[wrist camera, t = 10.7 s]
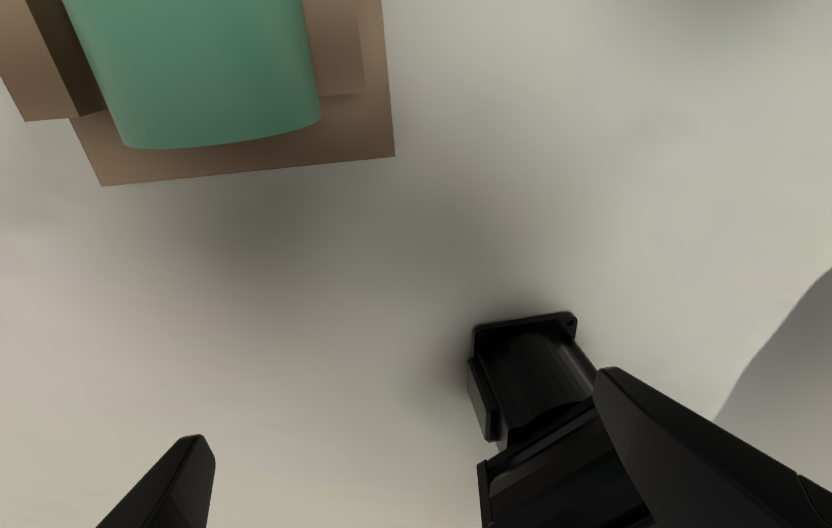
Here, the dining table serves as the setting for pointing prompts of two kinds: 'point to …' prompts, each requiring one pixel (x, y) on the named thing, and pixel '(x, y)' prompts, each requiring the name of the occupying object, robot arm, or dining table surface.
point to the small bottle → (199, 68)
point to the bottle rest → (119, 164)
